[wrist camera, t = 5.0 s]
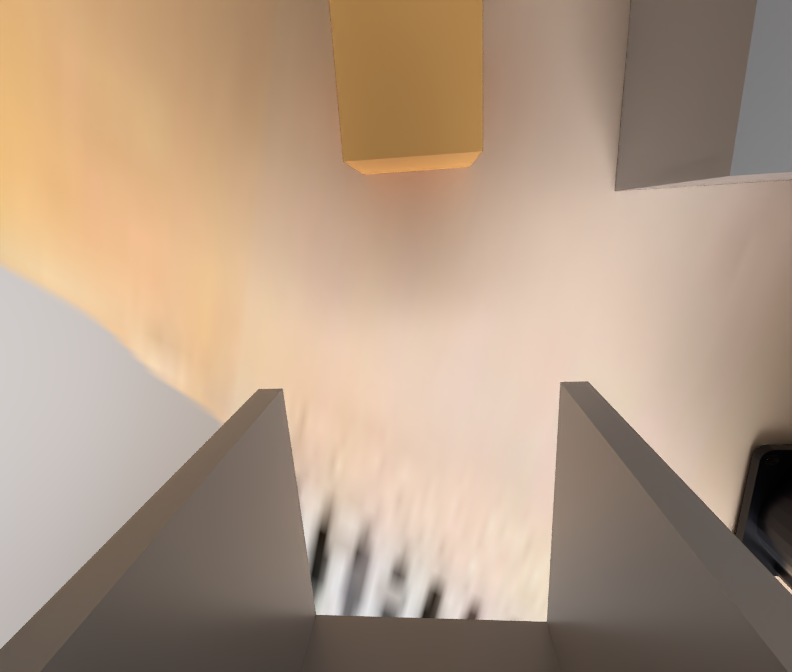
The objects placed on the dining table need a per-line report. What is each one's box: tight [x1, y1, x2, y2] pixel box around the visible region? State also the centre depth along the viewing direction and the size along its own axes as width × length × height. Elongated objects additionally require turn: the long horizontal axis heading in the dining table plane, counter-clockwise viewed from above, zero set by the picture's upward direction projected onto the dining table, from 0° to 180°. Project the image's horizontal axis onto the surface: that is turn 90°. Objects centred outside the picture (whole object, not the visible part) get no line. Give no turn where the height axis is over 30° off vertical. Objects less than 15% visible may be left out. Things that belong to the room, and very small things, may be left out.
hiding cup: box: [0, 382, 792, 672], centre depth 6 cm, size 6×6×6 cm
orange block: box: [329, 0, 483, 175], centre depth 13 cm, size 4×4×4 cm
